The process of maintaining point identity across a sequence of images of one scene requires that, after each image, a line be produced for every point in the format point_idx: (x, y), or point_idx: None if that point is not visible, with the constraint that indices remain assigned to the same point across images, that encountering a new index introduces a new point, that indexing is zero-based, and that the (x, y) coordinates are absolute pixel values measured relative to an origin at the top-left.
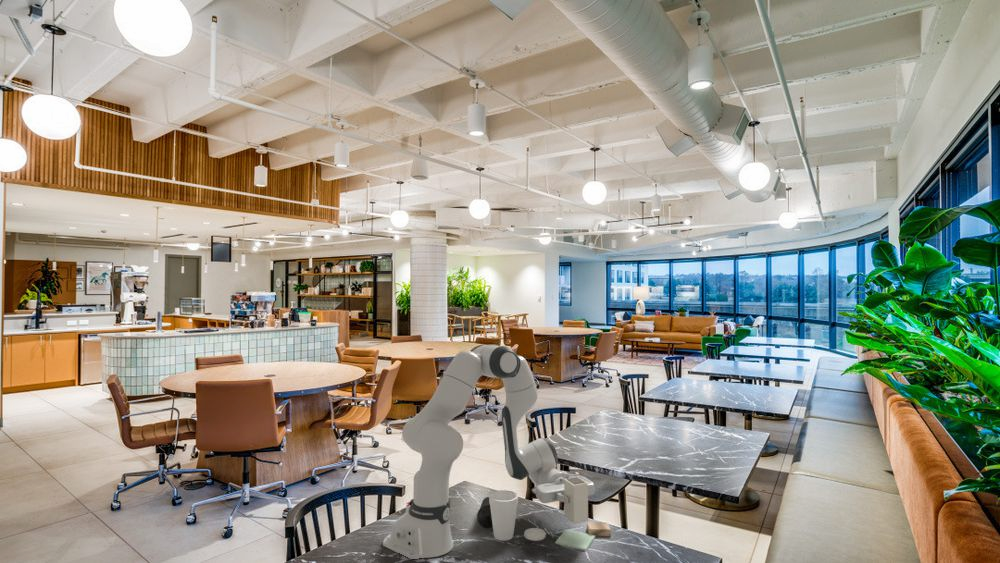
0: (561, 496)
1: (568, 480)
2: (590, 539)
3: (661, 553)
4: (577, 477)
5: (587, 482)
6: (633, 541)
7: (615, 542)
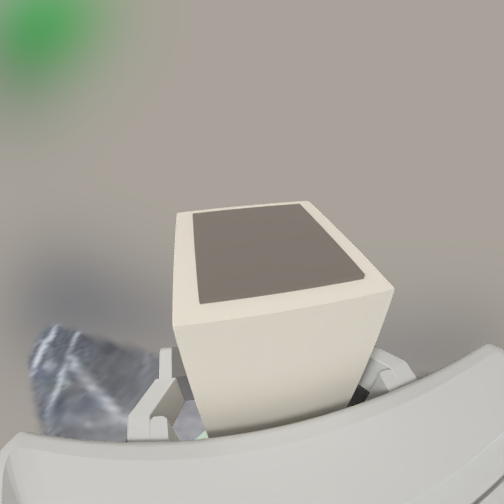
0: (378, 353)
1: (343, 253)
2: (207, 437)
3: (71, 333)
4: (199, 292)
5: (31, 483)
6: (77, 396)
7: (127, 411)
